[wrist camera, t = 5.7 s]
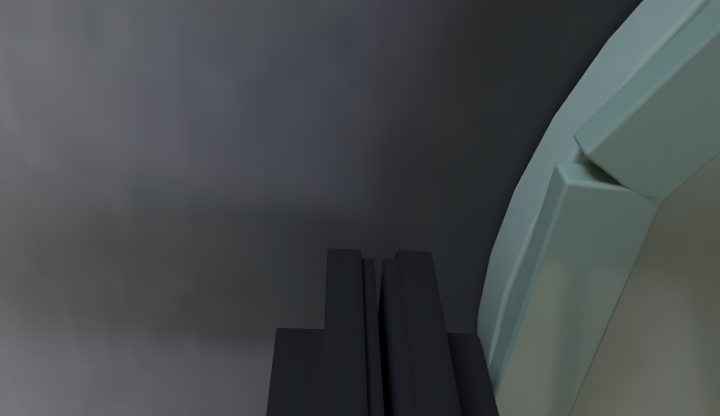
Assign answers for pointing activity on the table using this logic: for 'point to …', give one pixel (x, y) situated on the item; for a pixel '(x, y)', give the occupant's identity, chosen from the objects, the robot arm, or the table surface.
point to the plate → (617, 235)
